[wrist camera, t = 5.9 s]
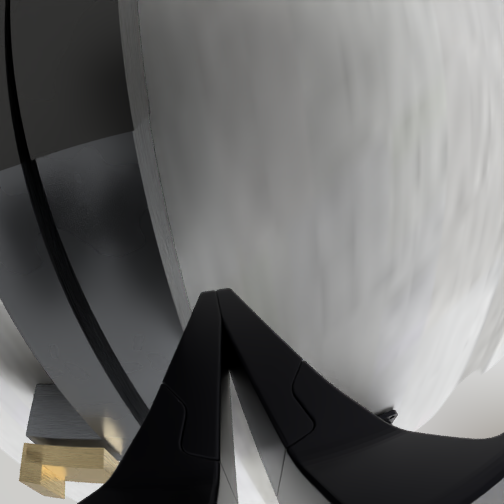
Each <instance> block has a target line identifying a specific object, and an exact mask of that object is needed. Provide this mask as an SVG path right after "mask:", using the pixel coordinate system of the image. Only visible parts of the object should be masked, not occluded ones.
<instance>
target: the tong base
mask: <svg viewBox="0 0 504 504" xmlns="http://www.w3.org/2000/svg"><path fill="white" fill-rule="evenodd" d="M0 298H1V300H2V302H3V304H4V306H5V308H6V310H7V311H8V313H9V315H10V317H11V318H12V320H13V322H14V324H15V325H16V327H17V329H18V330H19V332H20V334H21V335H22V337H23V338H24V340H25V342H26V343H27V345H28V346H29V348H30V349H31V351H32V352H33V354H34V355H35V357H36V358H37V360H38V361H39V363H40V364H41V366H42V367H43V368H44V370H45V371H46V373H47V374H48V375H49V377H50V378H51V379H52V381H53V382H54V383H55V384H37V385H36V389H35V393H34V398H33V402H32V407H31V411H30V416H29V421H28V426H27V432H26V436H27V437H28V438H29V439H30V440H31V441H32V442H34V443H35V444H39V445H50V446H64V447H89V448H105V449H106V450H107V451H108V452H109V453H110V454H111V455H112V456H113V457H114V458H115V459H116V460H117V461H121V459H122V457H123V456H124V454H125V452H126V451H127V449H128V447H129V446H130V444H131V442H132V440H133V439H134V437H135V435H136V434H137V432H138V430H139V429H140V427H141V425H142V423H143V421H144V419H145V418H146V416H147V414H148V412H149V409H148V407H147V406H146V404H145V403H144V401H143V400H142V398H141V396H140V395H139V393H138V392H137V390H136V389H135V387H134V385H133V384H132V382H131V381H130V379H129V377H128V376H127V374H126V372H125V371H124V369H123V367H122V366H121V364H120V362H119V360H118V359H117V357H116V355H115V353H114V352H113V350H112V348H111V346H110V344H109V343H108V341H107V339H106V337H105V335H104V333H103V331H102V330H101V328H100V326H99V324H98V322H97V320H96V318H95V316H94V314H93V312H92V310H91V308H90V306H89V304H88V301H87V299H86V297H85V295H84V293H83V291H82V289H81V286H80V284H79V282H78V280H77V277H76V275H75V273H74V270H73V268H72V266H71V263H70V261H69V258H68V256H67V253H66V251H65V248H64V246H63V243H62V241H61V238H60V235H59V233H58V230H57V227H56V224H55V222H54V219H53V216H52V213H51V210H50V207H49V204H48V201H47V198H46V194H45V191H44V188H43V185H42V181H41V178H40V174H39V171H38V167H37V163H36V159H34V160H31V158H30V154H29V150H28V146H27V142H26V137H25V133H24V128H23V123H22V118H21V113H20V108H19V102H18V96H17V89H16V82H15V74H14V65H13V55H12V42H11V20H10V0H0Z"/></svg>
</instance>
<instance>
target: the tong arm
mask: <svg viewBox="0 0 504 504" xmlns="http://www.w3.org/2000/svg"><path fill="white" fill-rule="evenodd" d="M10 20H11V42H12V55H13V65H14V74H15V82H16V89H17V96H18V102H19V108H20V113H21V118H22V123H23V128H24V133H25V137H26V142H27V146H28V150H29V154H30V158H31V160H34V159H36V163H37V167H38V171H39V174H40V178H41V181H42V185H43V188H44V191H45V194H46V198H47V201H48V204H49V207H50V210H51V213H52V216H53V219H54V222H55V224H56V227H57V230H58V233H59V235H60V238H61V241H62V243H63V246H64V248H65V251H66V253H67V256H68V258H69V261H70V263H71V266H72V268H73V270H74V273H75V275H76V277H77V280H78V282H79V284H80V286H81V289H82V291H83V293H84V295H85V297H86V299H87V301H88V304H89V306H90V308H91V310H92V312H93V314H94V316H95V318H96V320H97V322H98V324H99V326H100V328H101V330H102V331H103V333H104V335H105V337H106V339H107V341H108V343H109V344H110V346H111V348H112V350H113V352H114V353H115V355H116V357H117V359H118V360H119V362H120V364H121V366H122V367H123V369H124V371H125V372H126V374H127V376H128V377H129V379H130V381H131V382H132V384H133V385H134V387H135V389H136V390H137V392H138V393H139V395H140V396H141V398H142V400H143V401H144V403H145V404H146V406H147V407H148V409H149V410H150V408H151V406H152V403H153V401H154V399H155V397H156V395H157V392H158V390H159V388H160V385H161V384H163V383H162V381H163V379H164V376H165V374H166V371H167V369H168V367H169V364H170V362H171V360H172V358H173V355H174V353H175V351H176V348H177V346H178V344H179V341H180V339H181V337H182V335H183V332H184V330H185V328H186V325H187V323H188V321H189V319H190V316H191V314H192V312H191V308H190V305H189V301H188V297H187V294H186V290H185V286H184V282H183V278H182V274H181V270H180V266H179V262H178V258H177V254H176V250H175V246H174V241H173V237H172V233H171V228H170V224H169V220H168V215H167V210H166V206H165V201H164V196H163V191H162V186H161V181H160V176H159V171H158V166H157V161H156V155H155V150H154V144H153V138H152V133H151V127H150V120H149V114H150V108H149V102H148V95H147V88H146V80H145V73H144V65H143V57H142V48H141V39H140V29H139V18H138V6H137V0H10Z"/></svg>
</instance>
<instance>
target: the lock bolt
mask: <svg viewBox="0 0 504 504" xmlns="http://www.w3.org/2000/svg"><path fill="white" fill-rule="evenodd" d="M119 463H120V462H118V461H117V460H116V459H115V458H114V457H113V456H112V455H111V454H110V453H109V452H108V451H107V450H106V449H105V448H89V447H64V446H50V445H39V444H29V443H24V447H23V453H22V461H21V469H20V478H19V481H20V482H22V483H23V484H25V485H27V486H29V487H30V488H32V489H33V490H35V491H37V492H38V493H40V494H42V495H44V496H49V497H55V498H62V499H65V481H74V482H86V483H105V482H106V481H107V480H108V479H109V478H110V477H111V475H112V474H113V472H114V471H115V469H116V468H117V466H118V464H119Z"/></svg>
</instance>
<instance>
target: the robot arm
mask: <svg viewBox="0 0 504 504" xmlns="http://www.w3.org/2000/svg"><path fill="white" fill-rule="evenodd" d="M229 371H230V374H231V377H232V380H233V383H234V386H235V389H236V392H237V395H238V398H239V400H240V403H241V406H242V409H243V412H244V414H245V417H246V420H247V423H248V425H249V428H250V431H251V433H252V436H253V439H254V441H255V444H256V447H257V449H258V452H259V454H260V457H261V460H262V462H263V465H264V467H265V470H266V472H267V475H268V477H269V480H270V482H271V485H272V487H273V489H274V492H275V494H276V496H277V499H278V502H279V504H504V433H502V434H500V435H498V436H495V437H492V438H486V439H470V438H458V437H449V436H440V435H433V434H425V433H419V432H412V431H407V430H404V429H400V428H398V427H395V426H393V425H392V423H393V421H394V420H395V418H396V417H397V415H398V414H397V412H396V410H392V411H390V412H387V413H385V414H382V415H380V416H376V415H375V414H373V413H372V412H370V411H369V410H367V409H366V408H364V407H363V406H361V405H360V404H358V403H357V402H355V401H354V400H353V399H351V398H350V397H348V396H347V395H345V394H344V393H343V392H341V391H340V390H339V389H337V388H336V387H335V386H333V385H332V384H331V383H329V382H328V381H327V380H326V379H324V378H323V377H322V376H321V375H320V374H319V373H318V372H316V371H315V370H314V369H313V368H312V367H311V366H310V365H309V364H308V363H307V362H306V361H303V359H302V358H301V357H300V356H299V355H298V354H297V353H296V352H295V351H294V350H293V349H292V348H291V347H290V346H289V345H288V344H287V343H286V342H284V341H283V340H282V339H281V338H280V337H279V336H278V335H277V334H276V333H275V332H274V331H273V330H272V329H271V328H270V327H269V326H268V325H267V324H266V323H265V322H264V321H263V320H262V319H261V318H260V317H259V316H258V315H257V314H256V313H255V312H254V311H253V310H252V309H251V308H250V307H249V306H248V305H247V304H246V303H245V302H244V301H243V300H242V299H241V298H240V297H239V296H238V295H237V294H236V293H235V292H234V291H233V290H231V289H230V288H226V289H219V290H216V291H215V290H212V291H205V292H202V293H201V294H200V296H199V299H198V301H197V303H196V305H195V307H194V310H193V312H192V314H191V316H190V319H189V321H188V323H187V325H186V328H185V330H184V332H183V335H182V337H181V339H180V341H179V344H178V346H177V348H176V351H175V353H174V355H173V358H172V360H171V362H170V364H169V367H168V369H167V371H166V374H165V376H164V379H163V381H162V383H163V384H161V385H160V388H159V390H158V392H157V395H156V397H155V399H154V401H153V403H152V406H151V408H150V410H149V412H148V414H147V416H146V418H145V419H144V421H143V423H142V425H141V427H140V429H139V430H138V432H137V434H136V435H135V437H134V439H133V440H132V442H131V444H130V446H129V447H128V449H127V451H126V452H125V454H124V456H123V457H122V459H121V461H120V463H119V464H118V466H117V468H116V469H115V471H114V472H113V474H112V475H111V477H110V478H109V479H108V480H107V481H106V482H105V484H104V485H102V486H101V487H100V488H99V489H98V490H96V491H95V492H93V493H92V494H91V495H89V496H88V497H86V498H85V499H83V500H82V501H80V502H79V503H77V504H238V495H237V482H236V470H235V456H234V442H233V427H232V412H231V395H230V377H229Z"/></svg>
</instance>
